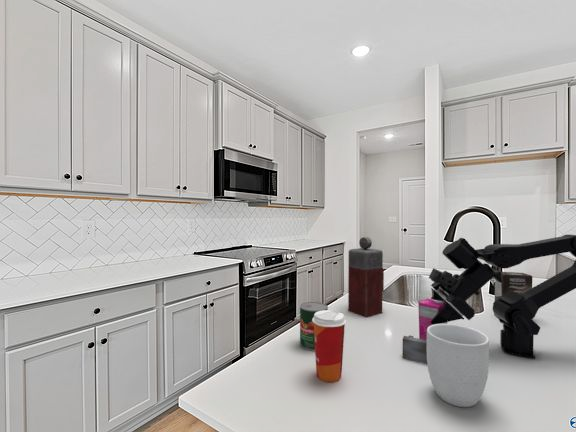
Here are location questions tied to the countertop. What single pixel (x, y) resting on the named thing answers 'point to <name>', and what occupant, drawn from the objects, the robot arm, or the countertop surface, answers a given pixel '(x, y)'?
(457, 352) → the mug
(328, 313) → the paper cup
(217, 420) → the countertop surface
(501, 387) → the countertop surface
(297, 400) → the countertop surface
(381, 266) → the pepper mill
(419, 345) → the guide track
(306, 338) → the canned tomato
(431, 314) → the supplement box
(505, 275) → the coffee box
